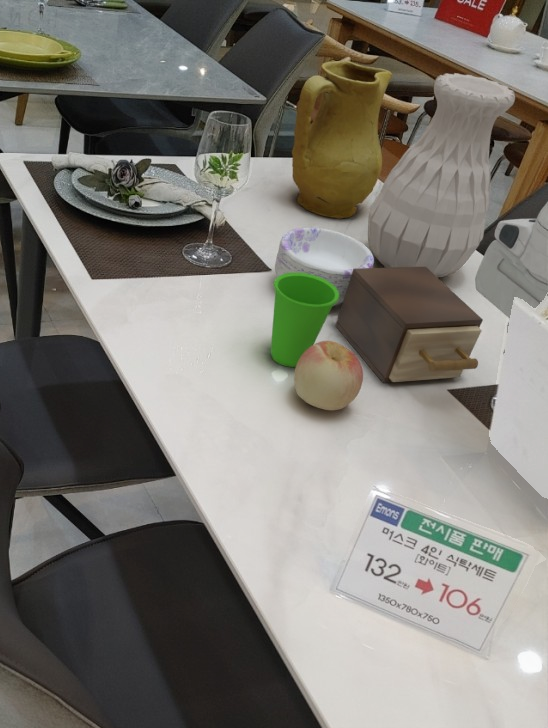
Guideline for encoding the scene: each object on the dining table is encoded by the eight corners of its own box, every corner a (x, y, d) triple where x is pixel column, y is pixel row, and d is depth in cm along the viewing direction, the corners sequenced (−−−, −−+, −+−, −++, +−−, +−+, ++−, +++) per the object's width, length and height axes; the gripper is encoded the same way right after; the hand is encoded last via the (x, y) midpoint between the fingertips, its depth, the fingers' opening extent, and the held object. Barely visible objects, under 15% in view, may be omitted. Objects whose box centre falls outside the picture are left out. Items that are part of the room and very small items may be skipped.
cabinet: (456, 377, 113) (483, 319, 107) (382, 383, 110) (405, 323, 103) (404, 322, 124) (425, 266, 117) (335, 325, 120) (353, 268, 113)
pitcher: (376, 227, 149) (413, 83, 132) (280, 217, 149) (306, 73, 132) (365, 196, 162) (398, 61, 145) (277, 187, 162) (300, 52, 145)
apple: (303, 376, 108) (318, 326, 103) (361, 401, 106) (379, 351, 100) (277, 403, 103) (291, 352, 97) (337, 430, 100) (356, 379, 94)
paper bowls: (356, 325, 121) (371, 279, 115) (262, 302, 122) (273, 255, 117) (364, 284, 132) (378, 239, 126) (278, 263, 133) (288, 218, 128)
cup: (244, 351, 111) (260, 281, 103) (285, 334, 116) (303, 266, 108) (290, 382, 107) (310, 311, 99) (330, 363, 112) (352, 294, 104)
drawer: (476, 394, 109) (499, 346, 103) (407, 400, 106) (428, 351, 100) (410, 324, 121) (427, 279, 116) (346, 328, 118) (362, 281, 113)
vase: (404, 301, 129) (477, 108, 108) (333, 247, 141) (386, 65, 120) (487, 285, 137) (569, 104, 116) (413, 236, 149) (475, 64, 128)
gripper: (656, 298, 78) (591, 407, 88) (533, 214, 92) (488, 317, 102) (608, 302, 77) (547, 413, 86) (489, 216, 90) (448, 320, 100)
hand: (514, 360), depth 94 cm, fingers closed
